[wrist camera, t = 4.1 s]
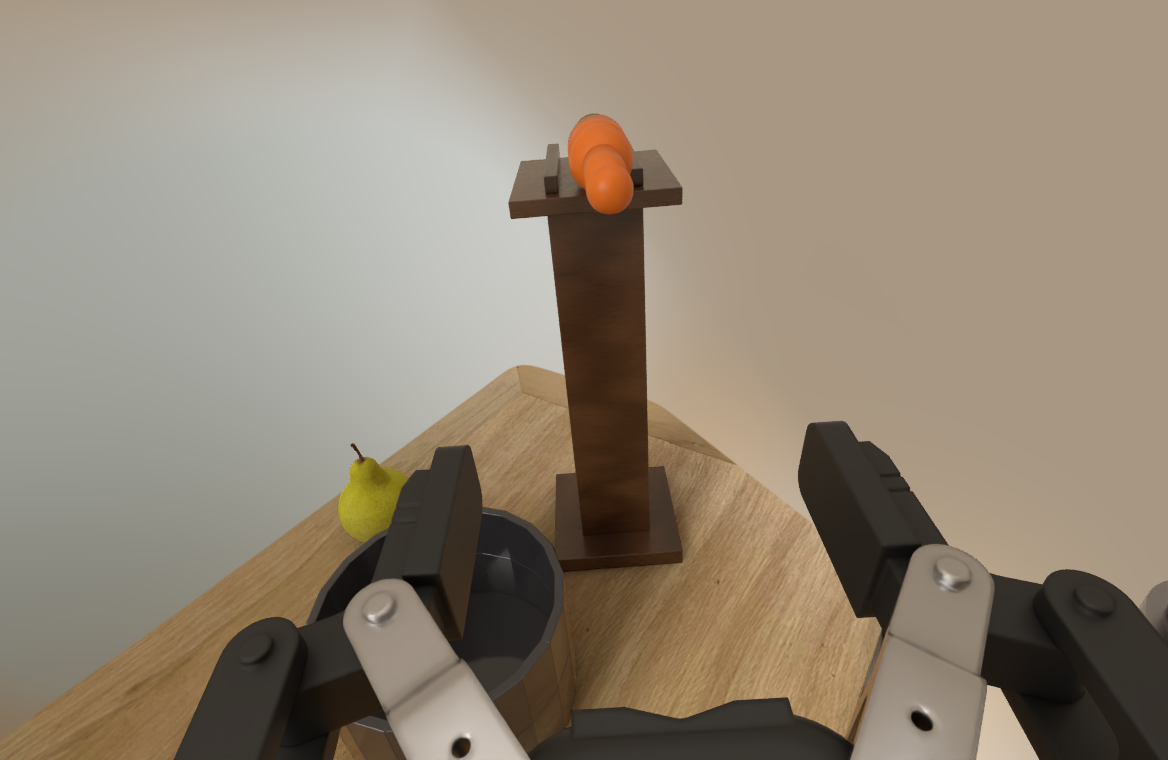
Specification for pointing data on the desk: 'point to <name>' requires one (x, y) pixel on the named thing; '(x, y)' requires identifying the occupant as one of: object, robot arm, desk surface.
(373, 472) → the fruit
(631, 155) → the carrot
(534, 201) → the stand
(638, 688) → the desk surface
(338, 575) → the pot
